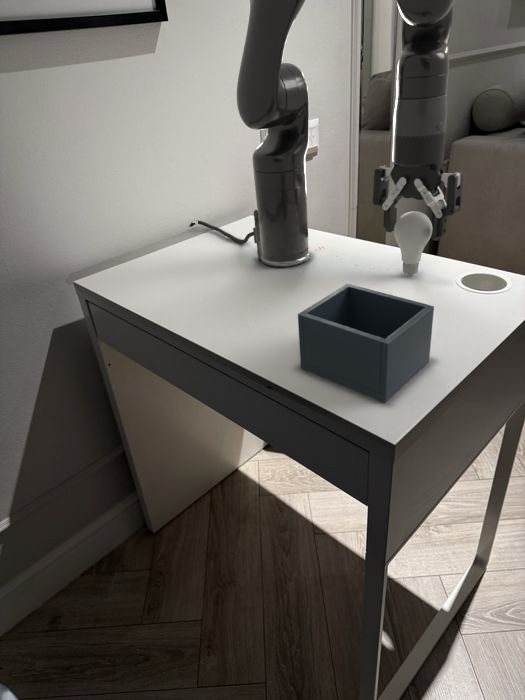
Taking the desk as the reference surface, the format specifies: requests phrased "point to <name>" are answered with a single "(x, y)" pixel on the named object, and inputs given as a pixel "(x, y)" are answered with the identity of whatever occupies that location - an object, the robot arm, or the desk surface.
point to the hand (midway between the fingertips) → (413, 234)
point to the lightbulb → (412, 238)
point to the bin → (366, 339)
